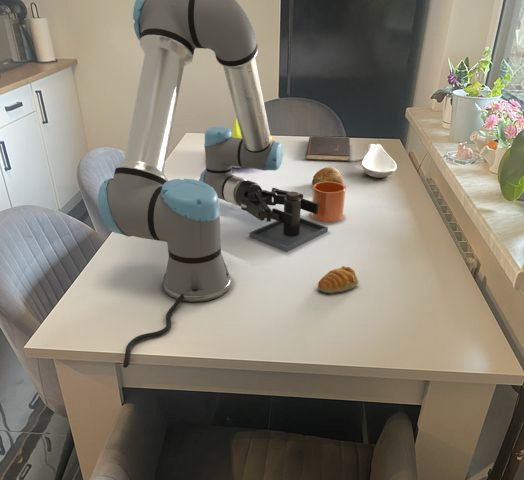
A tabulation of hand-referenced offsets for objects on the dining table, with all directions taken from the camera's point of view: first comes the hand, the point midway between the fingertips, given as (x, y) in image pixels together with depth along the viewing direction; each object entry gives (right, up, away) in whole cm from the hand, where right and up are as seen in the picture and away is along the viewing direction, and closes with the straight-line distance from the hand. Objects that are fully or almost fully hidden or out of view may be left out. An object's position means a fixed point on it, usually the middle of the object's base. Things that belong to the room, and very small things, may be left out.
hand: (304, 214), depth 141 cm
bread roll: (+10, +18, +36) cm, 42 cm away
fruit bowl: (-19, +34, +57) cm, 69 cm away
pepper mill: (-3, -3, +6) cm, 8 cm away
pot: (+8, +3, +16) cm, 18 cm away
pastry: (+6, -21, -16) cm, 27 cm away
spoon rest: (+29, +28, +50) cm, 64 cm away
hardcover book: (+14, +41, +67) cm, 80 cm away
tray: (-4, -4, +6) cm, 8 cm away
